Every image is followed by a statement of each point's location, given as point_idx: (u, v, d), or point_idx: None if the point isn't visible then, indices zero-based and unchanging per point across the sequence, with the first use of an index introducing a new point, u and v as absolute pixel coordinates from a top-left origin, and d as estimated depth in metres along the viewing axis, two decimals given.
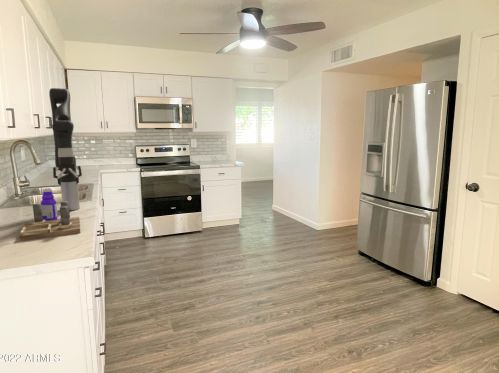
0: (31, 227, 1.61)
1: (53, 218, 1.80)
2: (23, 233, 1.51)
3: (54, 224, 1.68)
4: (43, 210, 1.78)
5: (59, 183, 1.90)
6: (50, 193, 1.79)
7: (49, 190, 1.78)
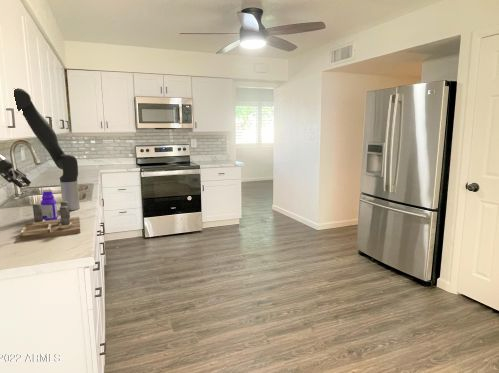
0: (31, 227, 1.61)
1: (53, 218, 1.80)
2: (23, 233, 1.51)
3: (54, 224, 1.68)
4: (43, 210, 1.78)
5: (26, 183, 1.82)
6: (50, 193, 1.79)
7: (49, 190, 1.78)
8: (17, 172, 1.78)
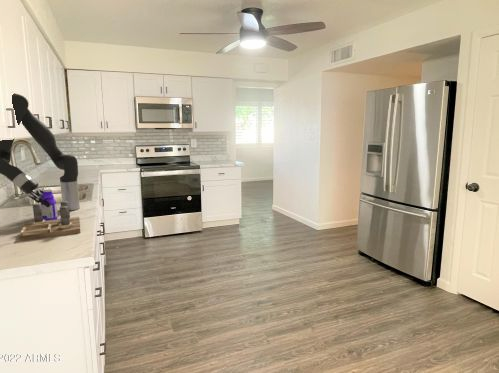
0: (31, 227, 1.61)
1: (53, 218, 1.80)
2: (23, 233, 1.51)
3: (54, 224, 1.68)
4: (43, 210, 1.78)
5: None
6: (50, 193, 1.79)
7: (49, 190, 1.78)
8: (42, 191, 1.80)
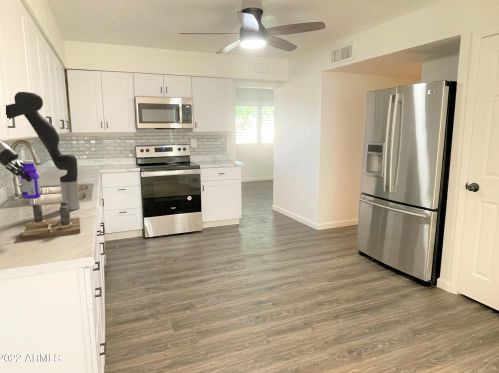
0: (31, 227, 1.61)
1: (35, 195, 1.53)
2: (23, 233, 1.51)
3: (54, 224, 1.68)
4: (23, 185, 1.51)
5: None
6: (32, 165, 1.52)
7: (30, 162, 1.51)
8: None
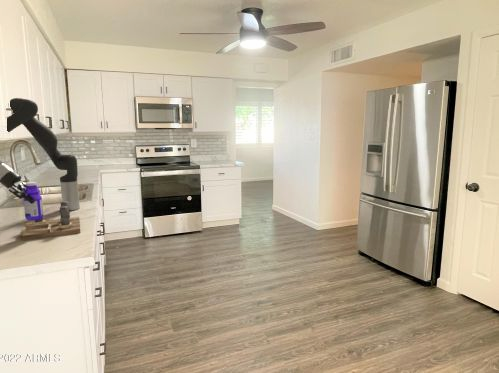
0: (31, 227, 1.61)
1: (38, 216, 1.55)
2: (23, 233, 1.51)
3: (54, 224, 1.68)
4: (26, 207, 1.53)
5: None
6: (34, 187, 1.54)
7: (33, 184, 1.53)
8: None
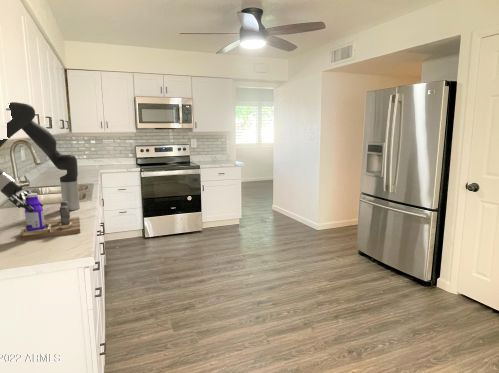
0: None
1: (39, 227, 1.56)
2: (23, 233, 1.51)
3: (54, 224, 1.68)
4: (28, 218, 1.54)
5: None
6: (36, 199, 1.55)
7: (34, 195, 1.54)
8: None
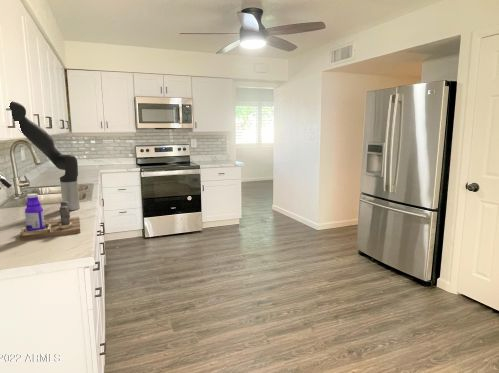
0: None
1: (39, 228, 1.56)
2: (23, 233, 1.51)
3: (54, 224, 1.68)
4: (28, 219, 1.54)
5: (6, 186, 1.58)
6: (36, 199, 1.55)
7: (35, 196, 1.54)
8: None
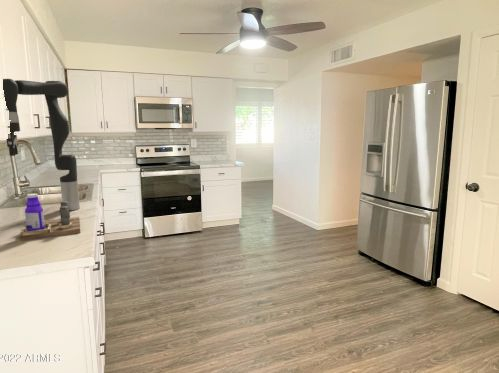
0: None
1: (39, 228, 1.56)
2: (23, 233, 1.51)
3: (54, 224, 1.68)
4: (28, 219, 1.54)
5: None
6: (36, 199, 1.55)
7: (35, 196, 1.54)
8: (16, 139, 1.67)
